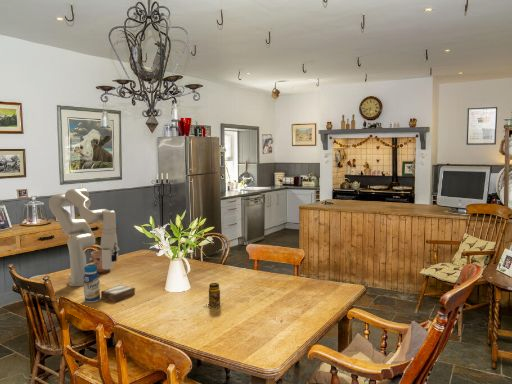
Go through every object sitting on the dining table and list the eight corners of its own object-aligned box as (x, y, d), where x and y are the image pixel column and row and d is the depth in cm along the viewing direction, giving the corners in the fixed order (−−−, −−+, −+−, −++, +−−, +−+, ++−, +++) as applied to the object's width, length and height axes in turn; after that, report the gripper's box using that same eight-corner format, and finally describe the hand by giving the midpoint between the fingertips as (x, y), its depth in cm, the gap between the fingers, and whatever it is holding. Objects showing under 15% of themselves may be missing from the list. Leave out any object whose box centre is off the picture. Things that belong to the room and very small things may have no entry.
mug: (104, 270, 252) (104, 250, 251) (99, 267, 257) (99, 248, 256) (120, 267, 259) (120, 248, 258) (115, 264, 264) (116, 245, 262)
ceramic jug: (96, 276, 289) (95, 255, 287) (84, 272, 297) (83, 252, 296) (119, 270, 303) (118, 250, 302) (107, 267, 312) (106, 247, 310)
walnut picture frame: (101, 298, 245) (101, 291, 245) (120, 291, 257) (120, 284, 257) (116, 301, 239) (115, 294, 238) (134, 294, 251) (134, 287, 250)
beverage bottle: (96, 296, 248) (94, 262, 246) (102, 300, 242) (101, 265, 240) (82, 300, 242) (80, 265, 240) (88, 304, 236) (86, 268, 234)
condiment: (217, 308, 227) (217, 286, 226) (203, 306, 230) (202, 285, 229) (223, 303, 234) (222, 282, 233) (208, 302, 237) (208, 281, 236)
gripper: (94, 230, 257) (95, 259, 259) (114, 234, 248) (115, 264, 250) (104, 228, 263) (105, 256, 265) (124, 231, 255) (124, 261, 257)
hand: (109, 260), depth 258 cm, fingers closed on mug, 6 cm apart
